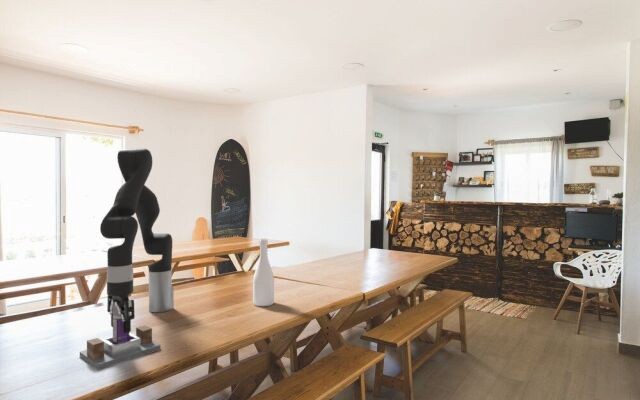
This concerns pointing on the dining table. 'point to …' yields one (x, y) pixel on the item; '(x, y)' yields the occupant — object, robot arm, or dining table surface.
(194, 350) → the dining table surface
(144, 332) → the walnut blocks
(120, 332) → the container
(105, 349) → the socket
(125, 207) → the robot arm
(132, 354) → the base board
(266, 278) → the wine bottle
